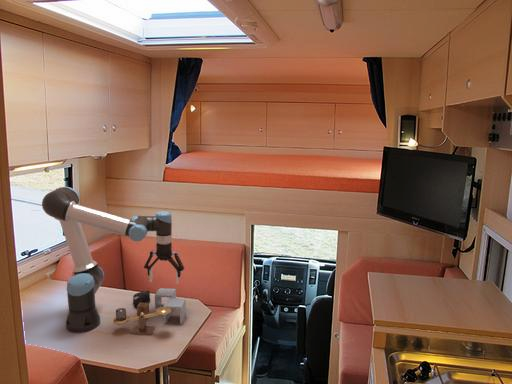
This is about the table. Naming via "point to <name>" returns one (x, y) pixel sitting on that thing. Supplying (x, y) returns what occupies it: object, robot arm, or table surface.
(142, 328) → the balance
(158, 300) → the cover
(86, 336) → the table surface
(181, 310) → the cover
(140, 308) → the block
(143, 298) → the rock
